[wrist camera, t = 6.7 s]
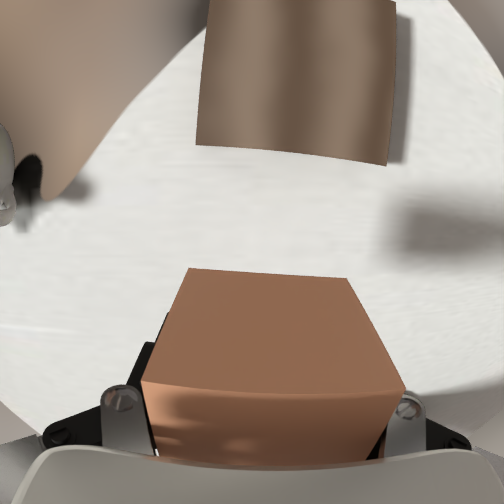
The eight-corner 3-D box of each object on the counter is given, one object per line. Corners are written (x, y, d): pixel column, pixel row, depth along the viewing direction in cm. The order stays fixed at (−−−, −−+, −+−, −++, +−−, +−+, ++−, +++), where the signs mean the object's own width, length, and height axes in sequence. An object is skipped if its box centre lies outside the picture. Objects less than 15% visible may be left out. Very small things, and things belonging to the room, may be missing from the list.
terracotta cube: (346, 278, 12) (405, 388, 6) (318, 389, 14) (340, 496, 8) (188, 267, 12) (140, 380, 6) (192, 383, 14) (170, 492, 8)
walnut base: (382, 13, 19) (395, 2, 16) (372, 162, 24) (386, 166, 22) (218, -11, 19) (214, -26, 16) (202, 143, 24) (195, 145, 21)
